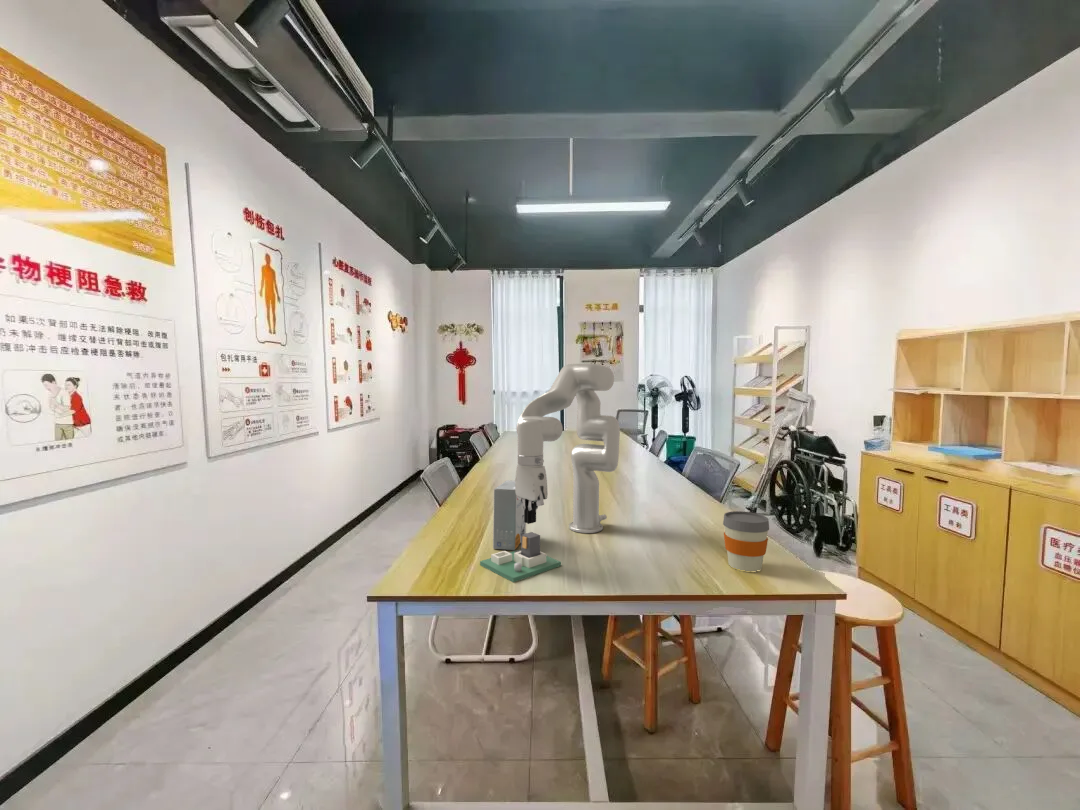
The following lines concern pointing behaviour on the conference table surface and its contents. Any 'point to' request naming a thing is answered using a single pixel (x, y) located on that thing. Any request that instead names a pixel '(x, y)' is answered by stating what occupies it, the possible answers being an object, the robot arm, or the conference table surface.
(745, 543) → the reusable coffee cup
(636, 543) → the conference table surface
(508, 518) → the hard drive box
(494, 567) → the board
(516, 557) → the frame
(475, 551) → the conference table surface
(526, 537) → the plug
